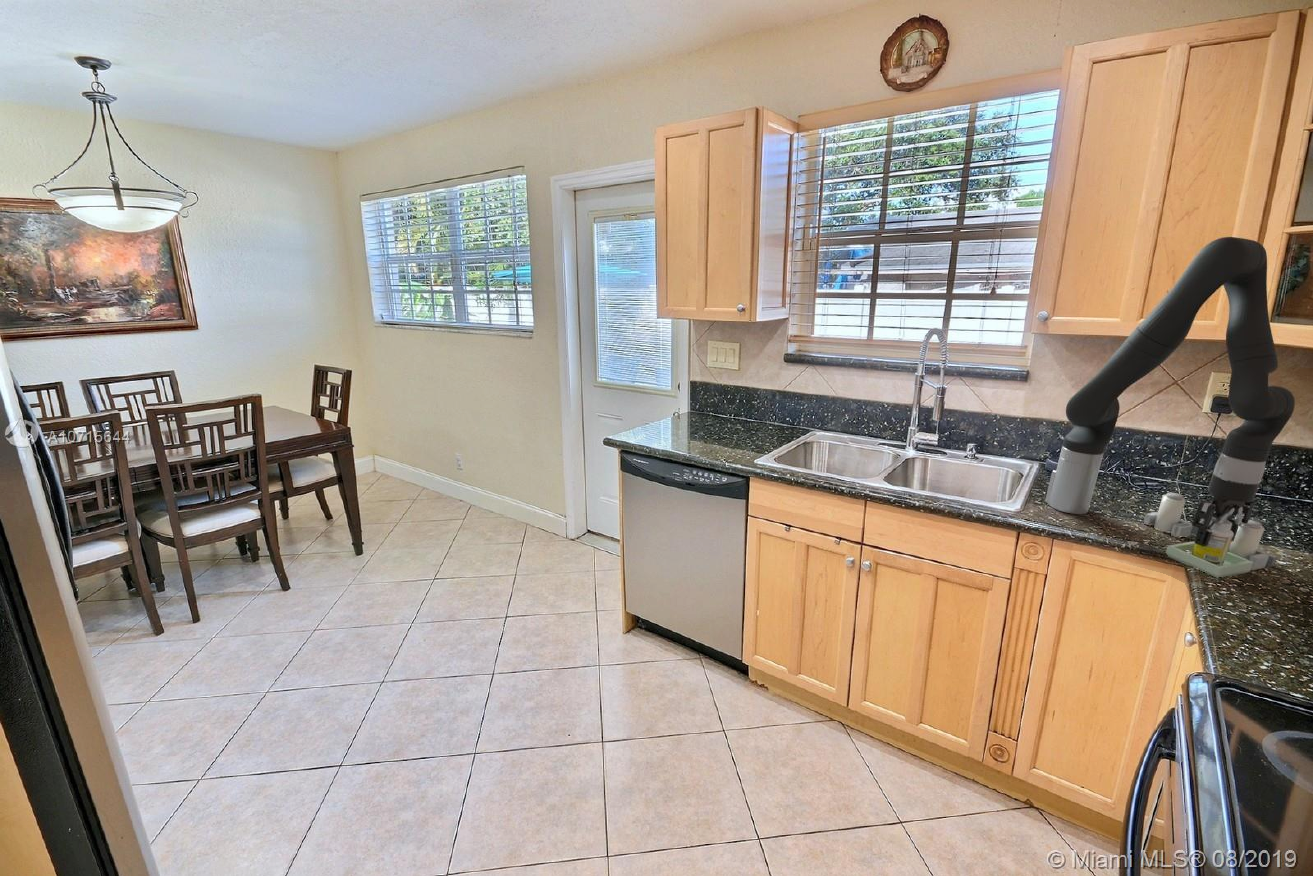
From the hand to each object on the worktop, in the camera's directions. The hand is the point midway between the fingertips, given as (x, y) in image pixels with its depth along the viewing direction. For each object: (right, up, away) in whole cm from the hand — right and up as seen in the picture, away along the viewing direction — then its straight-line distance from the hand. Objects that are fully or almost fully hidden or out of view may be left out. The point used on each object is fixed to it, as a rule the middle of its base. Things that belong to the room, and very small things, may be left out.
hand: (1213, 542), depth 133 cm
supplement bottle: (0, -5, +2) cm, 5 cm away
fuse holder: (+8, -2, +11) cm, 14 cm away
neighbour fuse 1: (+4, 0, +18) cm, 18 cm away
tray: (0, -5, +2) cm, 5 cm away
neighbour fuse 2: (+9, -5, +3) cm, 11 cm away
